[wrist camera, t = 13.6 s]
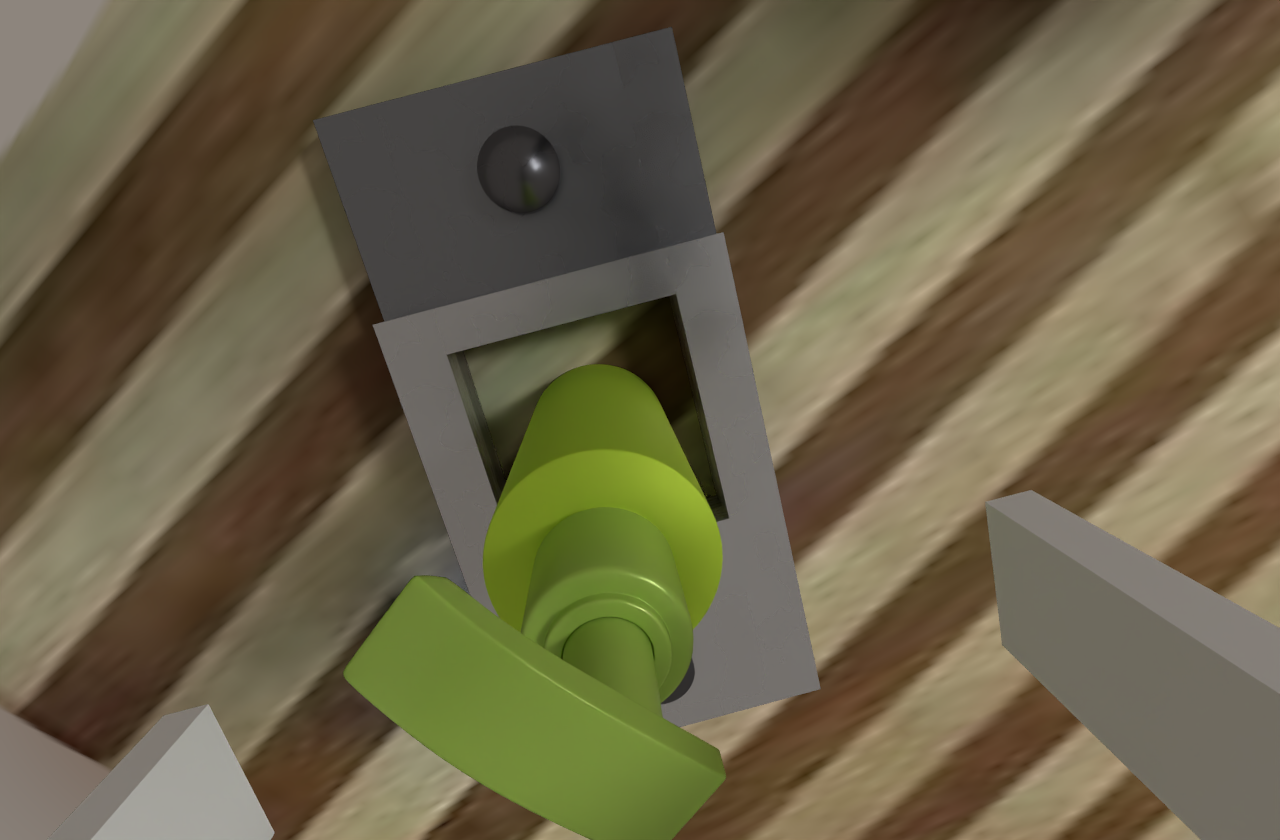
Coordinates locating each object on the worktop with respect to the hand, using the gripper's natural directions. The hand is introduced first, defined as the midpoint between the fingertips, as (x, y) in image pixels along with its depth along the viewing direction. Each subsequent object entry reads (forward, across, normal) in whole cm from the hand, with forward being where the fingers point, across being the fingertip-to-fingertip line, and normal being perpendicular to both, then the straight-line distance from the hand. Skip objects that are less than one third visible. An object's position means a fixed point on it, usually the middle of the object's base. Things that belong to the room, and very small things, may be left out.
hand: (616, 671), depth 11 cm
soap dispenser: (+18, -1, 0) cm, 18 cm away
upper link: (+18, -1, -4) cm, 19 cm away
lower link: (+18, -1, +3) cm, 18 cm away
